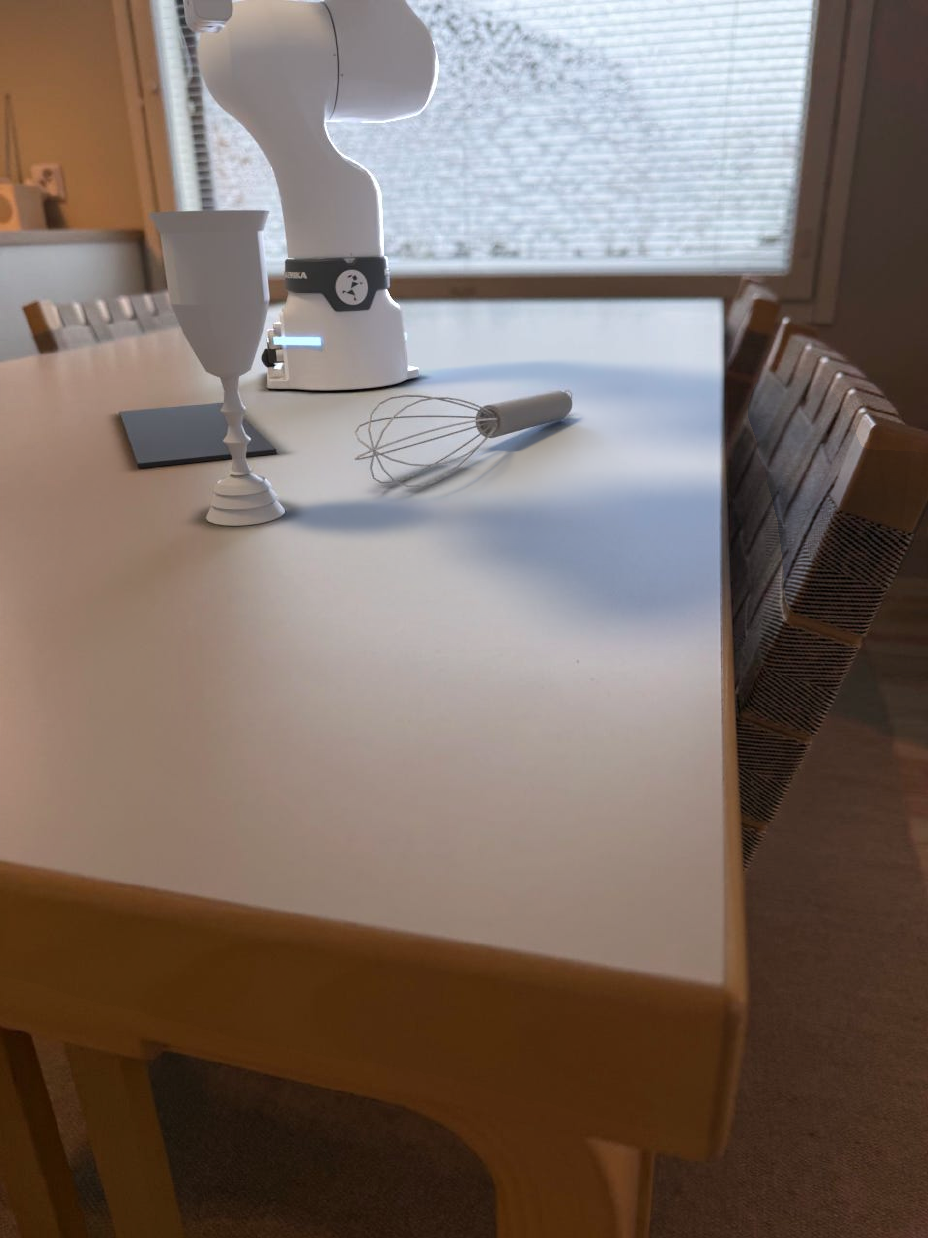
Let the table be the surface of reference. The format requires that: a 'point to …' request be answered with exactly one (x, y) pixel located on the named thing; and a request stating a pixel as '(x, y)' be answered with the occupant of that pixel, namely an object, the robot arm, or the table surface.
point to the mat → (185, 435)
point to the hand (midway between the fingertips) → (210, 26)
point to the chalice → (223, 330)
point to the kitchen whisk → (479, 423)
